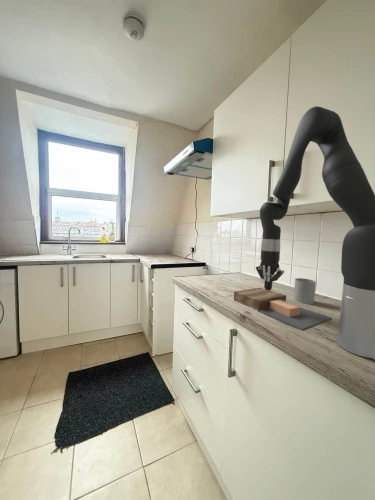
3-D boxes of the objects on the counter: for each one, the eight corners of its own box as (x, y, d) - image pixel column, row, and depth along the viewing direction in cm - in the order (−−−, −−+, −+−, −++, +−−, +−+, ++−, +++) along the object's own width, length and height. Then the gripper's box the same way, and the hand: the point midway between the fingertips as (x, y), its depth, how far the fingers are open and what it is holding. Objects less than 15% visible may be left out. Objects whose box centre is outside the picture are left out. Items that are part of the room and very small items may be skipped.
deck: (285, 304, 88) (286, 295, 88) (258, 310, 79) (259, 300, 79) (259, 295, 100) (260, 287, 100) (233, 300, 91) (234, 291, 91)
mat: (331, 318, 74) (331, 317, 74) (301, 330, 64) (301, 329, 64) (287, 304, 89) (287, 303, 89) (257, 311, 78) (257, 310, 78)
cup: (318, 304, 91) (320, 282, 90) (302, 304, 89) (303, 282, 88) (304, 298, 99) (306, 278, 98) (289, 298, 98) (291, 278, 97)
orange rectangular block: (299, 314, 76) (300, 307, 75) (289, 316, 73) (289, 309, 73) (279, 306, 84) (280, 299, 83) (269, 308, 81) (270, 301, 81)
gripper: (290, 251, 81) (287, 292, 82) (263, 248, 92) (260, 285, 93) (279, 251, 77) (276, 295, 78) (252, 248, 88) (249, 287, 90)
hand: (267, 289), depth 86 cm, fingers closed
